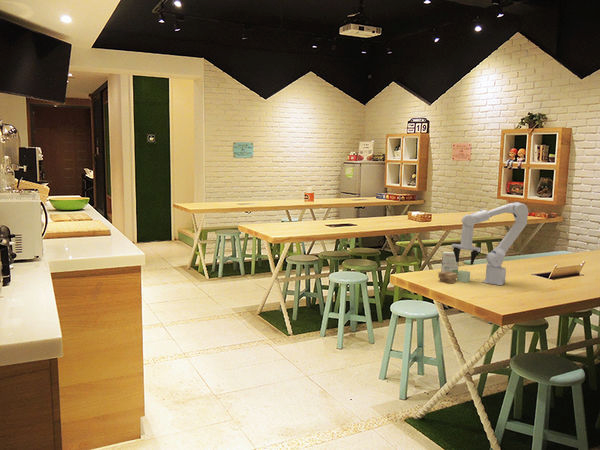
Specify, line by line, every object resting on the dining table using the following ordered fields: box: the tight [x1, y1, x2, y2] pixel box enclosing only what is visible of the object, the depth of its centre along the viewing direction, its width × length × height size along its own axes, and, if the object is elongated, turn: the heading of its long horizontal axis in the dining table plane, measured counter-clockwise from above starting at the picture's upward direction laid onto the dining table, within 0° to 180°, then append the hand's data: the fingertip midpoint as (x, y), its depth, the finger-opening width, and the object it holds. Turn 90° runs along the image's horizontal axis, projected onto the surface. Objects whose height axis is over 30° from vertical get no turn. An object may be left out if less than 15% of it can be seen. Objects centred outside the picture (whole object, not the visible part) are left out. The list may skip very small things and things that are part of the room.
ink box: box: [440, 251, 460, 275], centre depth 284 cm, size 9×5×12 cm, turn 84°
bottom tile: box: [438, 278, 457, 285], centre depth 266 cm, size 7×7×2 cm
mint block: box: [456, 269, 471, 284], centre depth 268 cm, size 5×5×5 cm
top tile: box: [437, 271, 457, 280], centre depth 266 cm, size 7×7×2 cm
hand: (464, 263), depth 267 cm, fingers open, 7 cm apart
